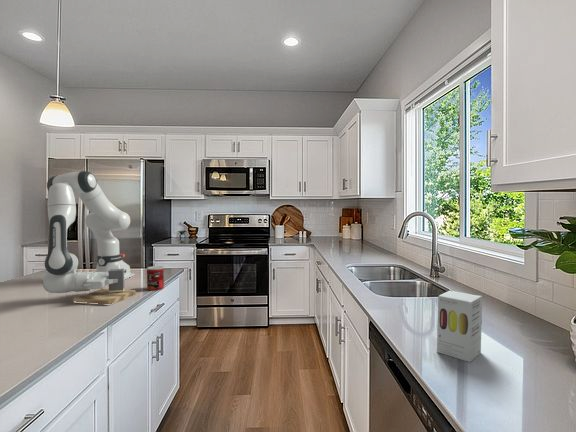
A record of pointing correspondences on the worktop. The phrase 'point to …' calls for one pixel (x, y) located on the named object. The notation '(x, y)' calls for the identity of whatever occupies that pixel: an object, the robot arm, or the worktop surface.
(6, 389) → the worktop surface
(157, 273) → the canned food
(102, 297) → the oak board
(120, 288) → the block
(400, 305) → the worktop surface
